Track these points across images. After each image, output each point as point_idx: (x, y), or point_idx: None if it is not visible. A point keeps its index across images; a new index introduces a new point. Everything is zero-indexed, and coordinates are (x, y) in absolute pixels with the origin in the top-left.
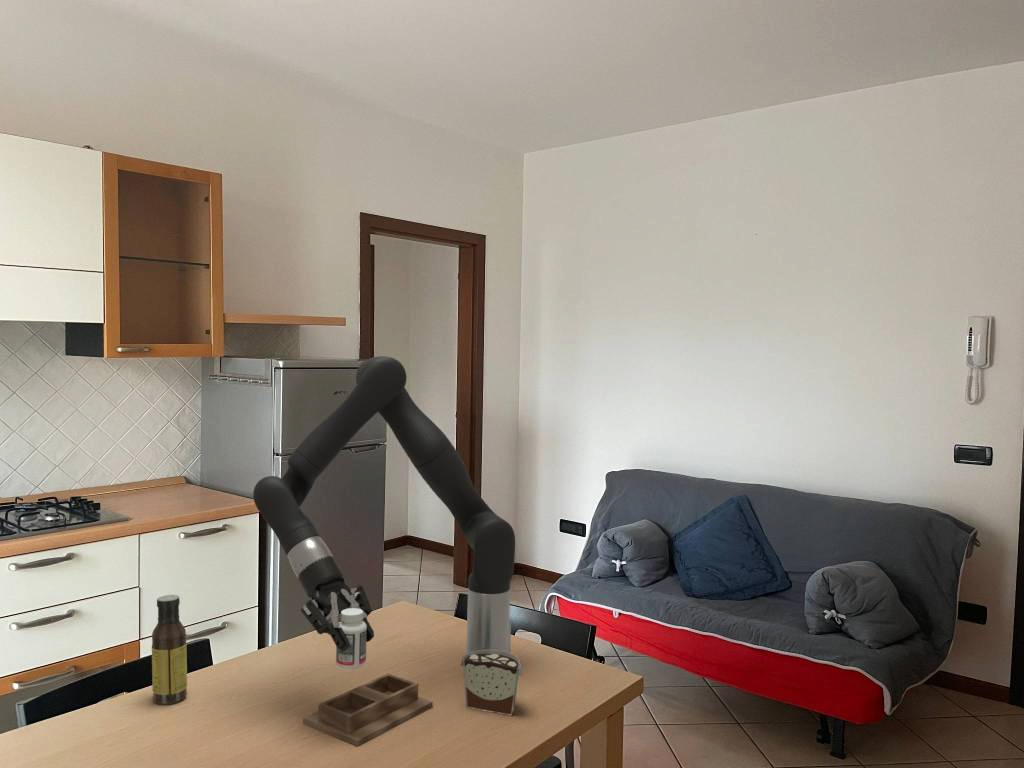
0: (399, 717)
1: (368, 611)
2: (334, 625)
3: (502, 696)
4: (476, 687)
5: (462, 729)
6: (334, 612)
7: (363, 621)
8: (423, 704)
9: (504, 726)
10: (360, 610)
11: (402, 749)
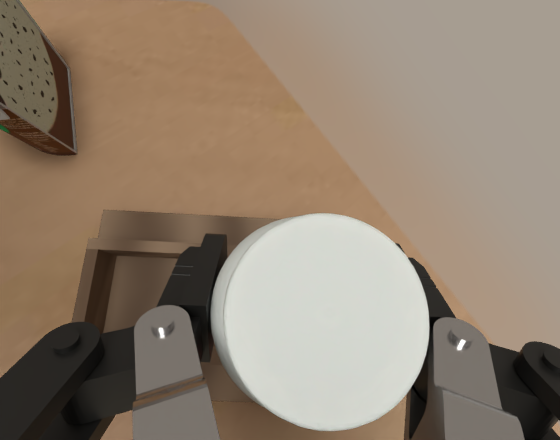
0: (210, 220)
1: (93, 333)
2: (476, 335)
3: (47, 59)
4: (43, 107)
5: (168, 111)
6: (497, 414)
7: (208, 294)
8: (127, 217)
9: (117, 60)
10: (257, 269)
11: (295, 153)
